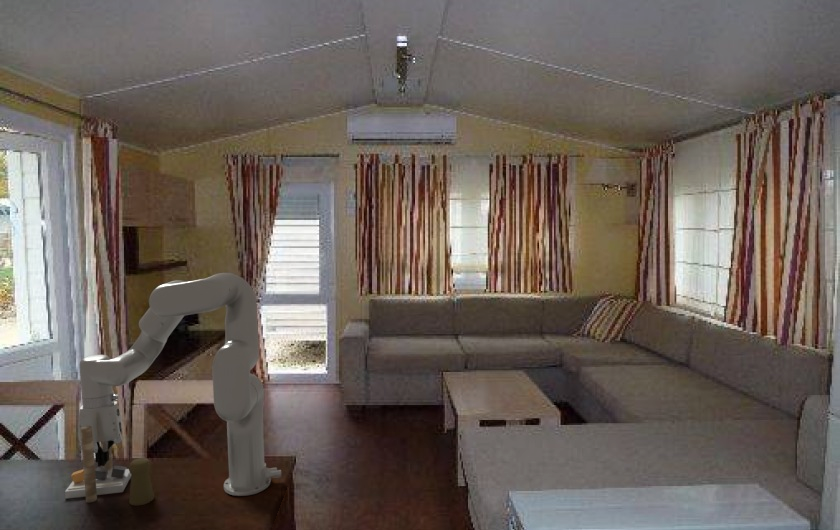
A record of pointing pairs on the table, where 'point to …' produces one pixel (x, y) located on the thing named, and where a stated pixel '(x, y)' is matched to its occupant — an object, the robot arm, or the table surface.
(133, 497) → the cork
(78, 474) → the orange block
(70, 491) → the panel
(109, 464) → the post far
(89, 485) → the post near
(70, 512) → the table surface
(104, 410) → the robot arm
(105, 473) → the grey block
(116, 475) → the grey block
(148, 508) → the table surface
